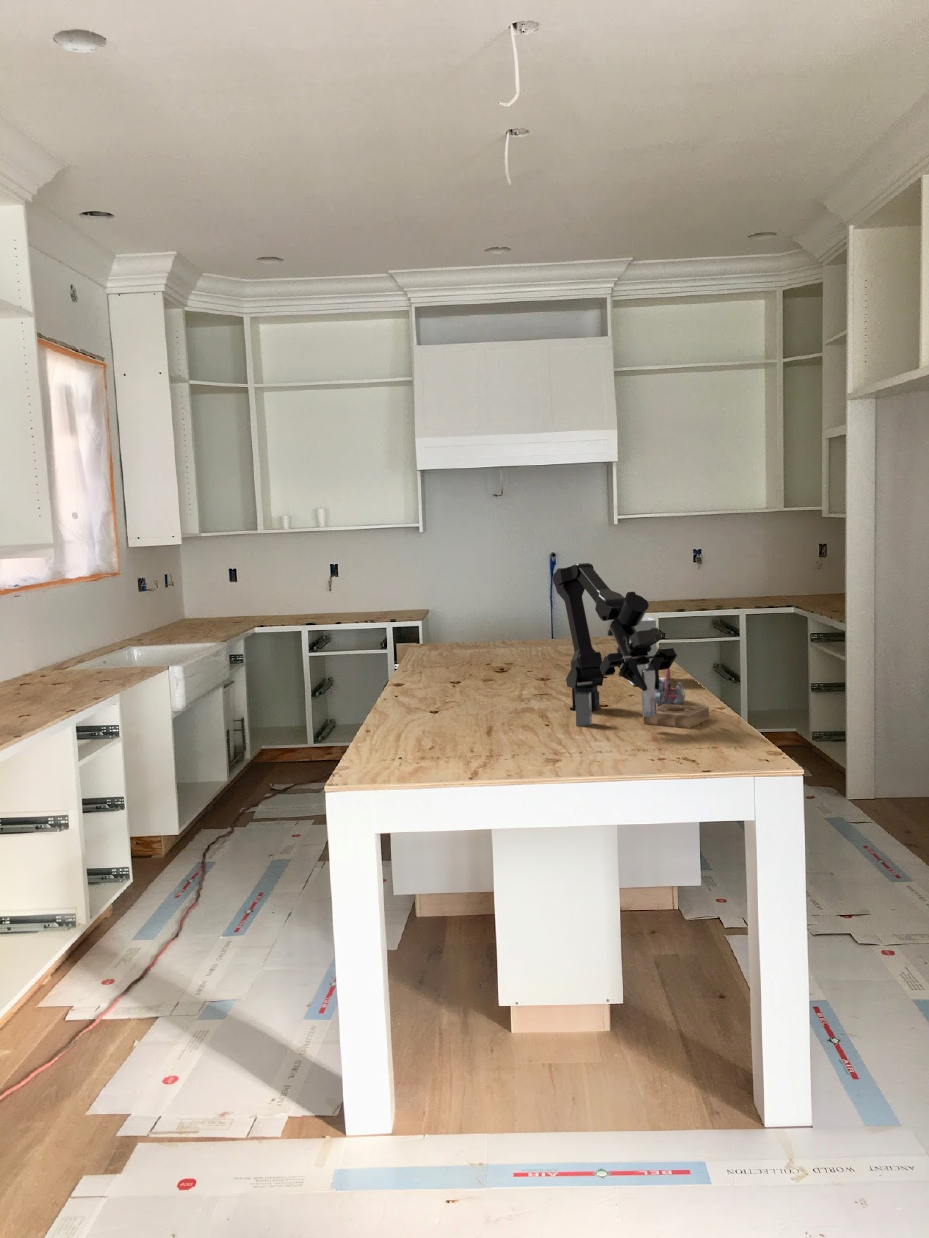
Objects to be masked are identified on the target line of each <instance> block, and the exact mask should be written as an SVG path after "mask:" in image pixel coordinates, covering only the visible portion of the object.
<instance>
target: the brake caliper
mask: <svg viewBox="0 0 929 1238" xmlns="http://www.w3.org/2000/svg"><path fill="white" fill-rule="evenodd" d="M671 677H672V676H671V669H670V668H668V669H665V677H659V686H660V687H659V689H658V690H657V689H656V705H657V706H658V705H663V704H674V705H683V703H684V700H685V698H686V694H685V690H684V688H683V684H682V683H681V682H677V683H676V686H675V688H672V685H673V684H672V679H671Z"/></svg>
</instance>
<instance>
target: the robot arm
mask: <svg viewBox="0 0 929 1238" xmlns="http://www.w3.org/2000/svg"><path fill="white" fill-rule="evenodd" d="M552 582H553V584H554V587H555V591H556V593H557V594H558V596H559V597H560V598H562V600H563V601H564V605H565V611H566V615H567V621H568V626H569V631H570V635H571V641H572V645H573V651H574V652H573V656H572V658H571V660H570V670H569V672H568V674H567V676H566V678H565V681H566V686H567V688H571V698H572V704H571V705H572V706H569V710H573V711H576V704H575V694H576V693H577V692H591V707H592V711H594V710H597V709H599V708H602V705H600V692H599V690H598V689H599V687H601V686H603V683H604V677H607V676H614V674H615V673H616V668H618V670H619V672H618V677H620V678H621V677H622V678H624V679H625V680H626V681H628V680H629V681H630V682H632V683H633V684H635V686H636V687H638V689H640V690H641V691H642V690H643V691H645V690H646V685H645V683H644V681H643V679H642V676H641V674H640V672H639V670H638V667H637V665H645V666H646V668H647V669H653V670H655V686H656V689H657V690H658V689H659V687H660V686H659V678H660V676H659V675H660V673H659V671H661V670H663V671H664V670H665V671H666V669H668V668H669V669H670V668H671V666H672V665H673V663H674V661H675V660H676V658H677V657H678V653H677V652H676V650H675V648H674V647H663V648H662V647H661V648H660V647H659V648H658V649H656V654H655V655H654V654H652V655H648V652H650V651H651V649H652V648H651V645H653V644H656V645H657V643H658V642H659V641H661V640H662V633H661V631H660V630H659V628H658V627H656V628H651V630H644V631H638V632H637V630H636V628H635V626H637V625H639V624H640V622H641V620H642V618H643V617H645V614H646V612H647V610H648V609H649V605H650V604H649V602H648V600H647V599H645V598H644V597H643V596H641V595H639V594H637V593H636V592H635V591H627V592H626V594H625V597H624V595H622V594H621V593H619V592H617V591H614V590H611V589H610V588H609V586H608V584H606V583H605V581H604V580H603V579H602V577H601V576H600V575H599V574H598V573H597V572H596V570H595V569H594V566H593V564H592V563H589V562H585V563H584V562H583V563H575V564H573V565H570V566H567V567H562V568H561V567H560V568H557V569H556V570H555V572H554V573H553V575H552ZM585 591H586V592H587V593H588V595H589V596H590V597H591V599H592V600H593V601H594V603H595V607H594V608H595V609H594V610H595V613H597V616H598V617H599V620H601V621H603V622H609V621H611V623H610V624H609V628H608V630H607V636H609V637H612V636H613V638H614V641H615V642H616V644H617V648H616V651H617V652H607V653H606V654H605V656H604V657H602V653H601V652H600V651H596V650H595V648H593V645H592V640H591V635H590V631H589V625H588V619H587V615H586V610H585V606H584V605H585V604H584V599H583V595H584V593H585ZM602 658H603V659H602ZM629 681H628V682H629ZM630 682H629V683H630ZM598 686H599V687H598Z"/></svg>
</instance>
